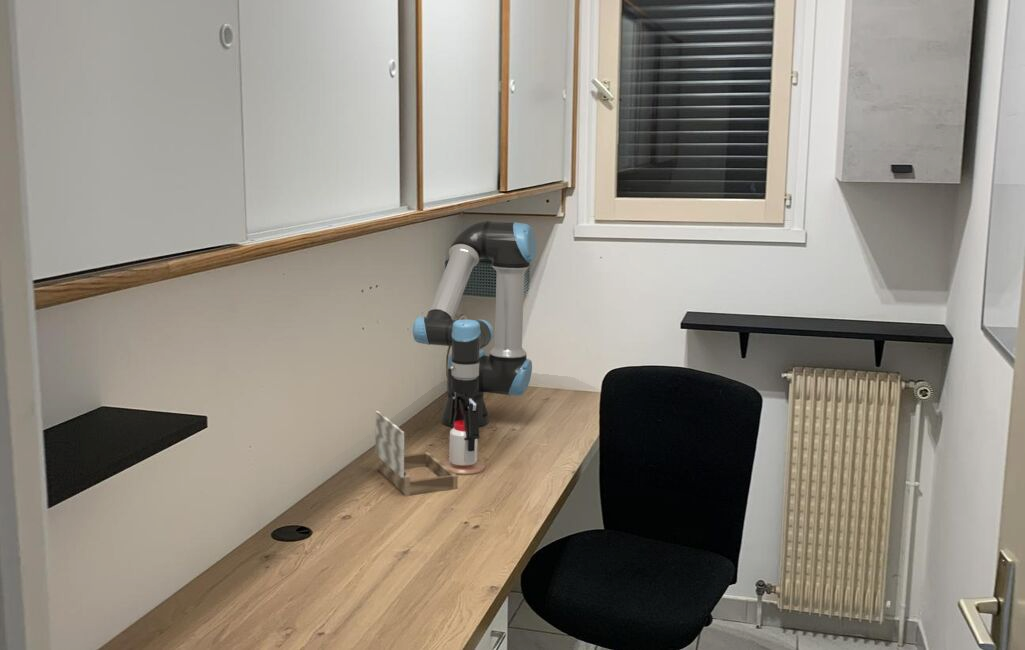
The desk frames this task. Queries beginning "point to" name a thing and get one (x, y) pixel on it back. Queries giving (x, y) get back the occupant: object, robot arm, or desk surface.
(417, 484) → the frame
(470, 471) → the saucer
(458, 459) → the pill bottle
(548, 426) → the desk surface
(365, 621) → the desk surface
